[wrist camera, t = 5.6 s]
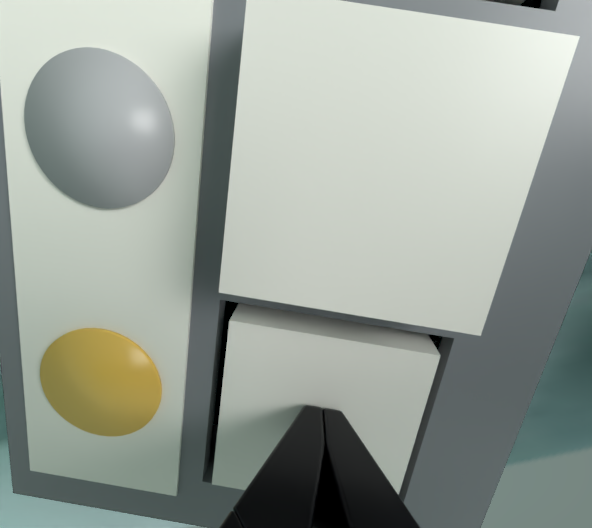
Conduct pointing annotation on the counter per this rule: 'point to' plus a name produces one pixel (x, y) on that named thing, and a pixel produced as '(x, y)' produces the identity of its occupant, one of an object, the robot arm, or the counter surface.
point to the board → (219, 260)
